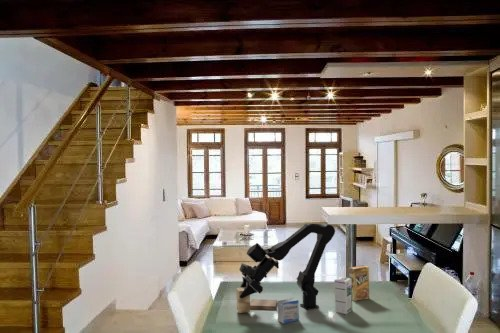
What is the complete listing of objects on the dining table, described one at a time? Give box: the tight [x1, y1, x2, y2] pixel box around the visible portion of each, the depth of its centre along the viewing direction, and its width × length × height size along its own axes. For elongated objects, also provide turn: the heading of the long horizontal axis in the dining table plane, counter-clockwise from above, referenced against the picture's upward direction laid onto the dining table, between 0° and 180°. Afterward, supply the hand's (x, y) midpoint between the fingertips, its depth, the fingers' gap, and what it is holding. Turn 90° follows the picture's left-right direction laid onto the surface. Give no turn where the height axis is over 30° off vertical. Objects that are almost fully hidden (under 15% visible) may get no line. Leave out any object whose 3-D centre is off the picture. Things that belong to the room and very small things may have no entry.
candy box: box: [348, 264, 370, 302], centre depth 210 cm, size 9×4×15 cm, turn 113°
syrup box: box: [333, 276, 353, 315], centre depth 193 cm, size 6×6×14 cm
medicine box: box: [277, 297, 300, 325], centre depth 184 cm, size 8×4×9 cm, turn 118°
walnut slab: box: [250, 298, 278, 311], centre depth 202 cm, size 12×9×2 cm
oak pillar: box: [235, 286, 251, 314], centre depth 193 cm, size 5×5×10 cm
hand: (239, 295), depth 193 cm, fingers closed on oak pillar, 5 cm apart
